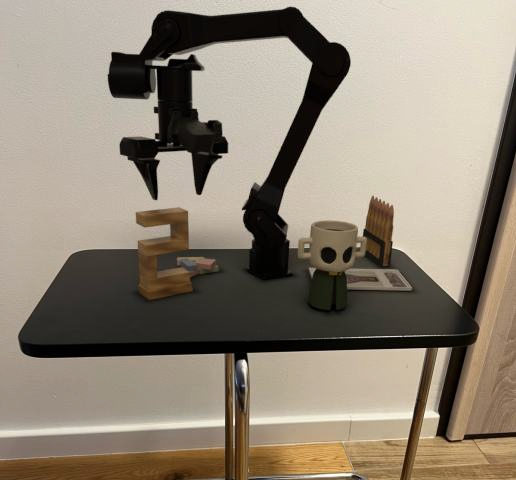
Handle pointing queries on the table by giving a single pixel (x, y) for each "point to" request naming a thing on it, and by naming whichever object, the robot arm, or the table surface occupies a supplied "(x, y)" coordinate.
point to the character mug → (331, 261)
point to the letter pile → (197, 265)
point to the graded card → (374, 279)
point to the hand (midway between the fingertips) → (177, 197)
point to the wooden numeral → (166, 280)
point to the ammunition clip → (379, 232)
